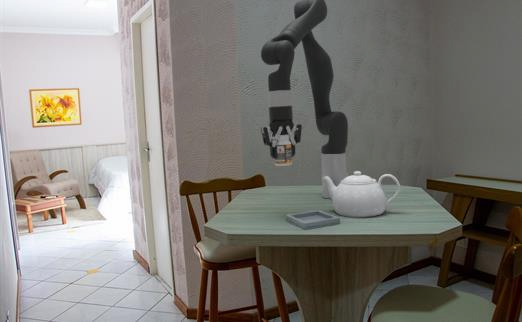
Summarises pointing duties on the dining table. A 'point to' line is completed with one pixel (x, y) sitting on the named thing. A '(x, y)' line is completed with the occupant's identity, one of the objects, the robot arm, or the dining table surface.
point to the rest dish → (312, 219)
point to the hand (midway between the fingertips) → (283, 157)
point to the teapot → (359, 195)
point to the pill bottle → (283, 151)
